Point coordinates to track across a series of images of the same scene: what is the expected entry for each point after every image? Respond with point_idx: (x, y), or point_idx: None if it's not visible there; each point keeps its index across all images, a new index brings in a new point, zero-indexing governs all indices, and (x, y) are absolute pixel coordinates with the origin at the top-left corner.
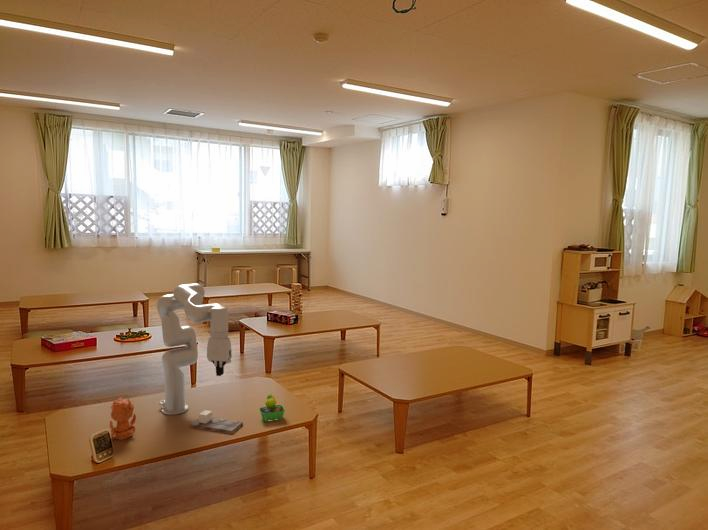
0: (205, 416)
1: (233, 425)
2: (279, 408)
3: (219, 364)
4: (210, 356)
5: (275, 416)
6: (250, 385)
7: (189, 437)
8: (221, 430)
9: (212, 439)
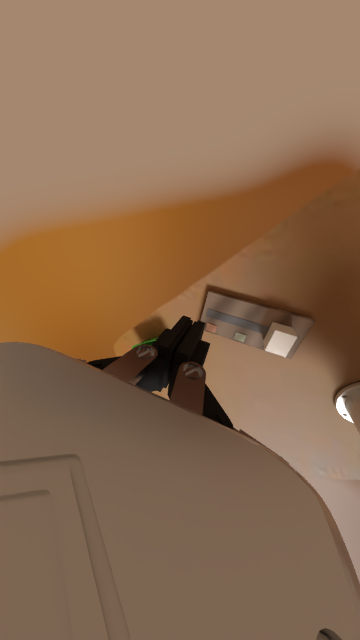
0: (276, 329)
1: (211, 313)
2: None
3: (146, 364)
4: (234, 525)
5: (149, 340)
6: None
7: (304, 268)
8: (232, 297)
9: (244, 263)
